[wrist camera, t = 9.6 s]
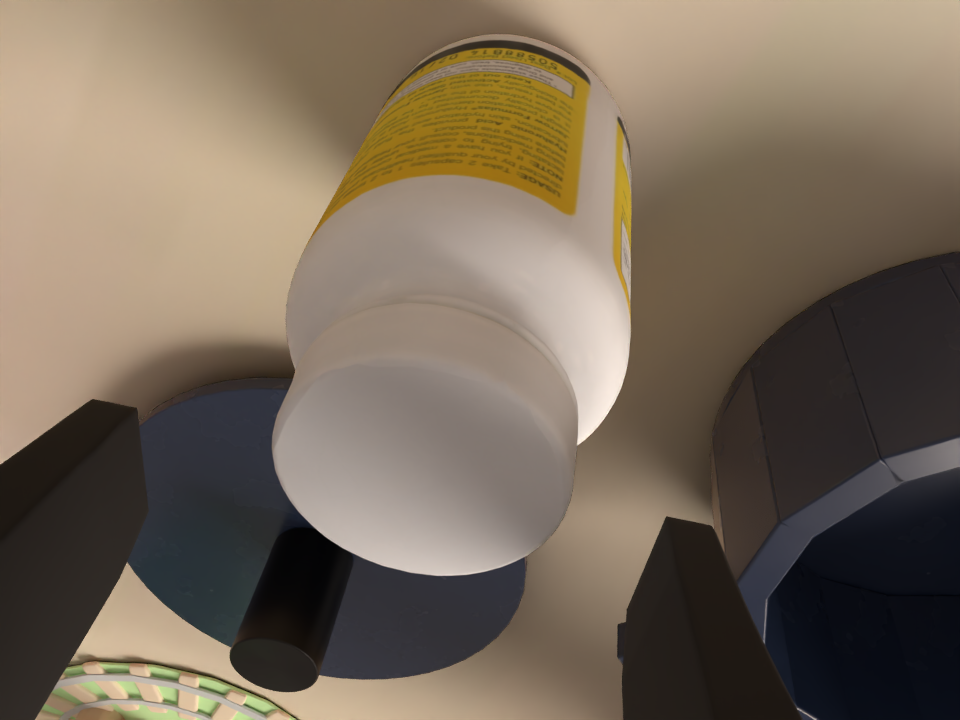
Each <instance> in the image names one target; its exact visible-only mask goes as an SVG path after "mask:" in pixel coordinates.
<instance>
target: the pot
mask: <svg viewBox="0 0 960 720" xmlns="http://www.w3.org/2000/svg"><path fill="white" fill-rule="evenodd" d="M710 462H711V501H712V511H713V520H714V530H715V532H716V533H717V536H718V538H719V541H720V543H721V546H722V548H723V551H724V553H725V556H726V558H727V561H728V563H729V565H730V568H731V570H732V573H733V575H734V577H735V580H736V582H737V584H738V587H739V589H740V591H741V594H742V596H743V598H744V600H745V603H746V605H747V607H748V609H749V612H750V614H751V616H752V618H753V621H754V623H755V625H756V627H757V629H758V631H759V633H760V636H761V638H762V640H763V642H764V644H765V646H766V648H767V650H768V652H769V654H770V656H771V658H772V660H773V662H774V664H775V666H776V668H777V670H778V672H779V674H780V676H781V678H782V680H783V682H784V684H785V686H786V688H787V690H788V692H789V694H790V696H791V698H792V700H793V702H794V704H795V706H796V707H797V709H798V711H799V713H800V715H801V717H802V719H803V720H960V252H956V253H950V254H945V255H940V256H936V257H931V258H926V259H922V260H917V261H913V262H910V263H907V264H903V265H900V266H897V267H894V268H891V269H888V270H884V271H881V272H878V273H876V274H874V275H871V276H869V277H867V278H864V279H862V280H860V281H857V282H855V283H853V284H850V285H848V286H846V287H843V288H842V289H840V290H838V291H836V292H834V293H833V294H831V295H829V296H827V297H825V298H824V299H822V300H820V301H818V302H816V303H815V304H813V305H812V306H810V307H809V308H807V309H806V310H804V311H803V312H802V313H800V314H799V315H797V316H796V317H794V318H793V319H792V320H790V321H789V322H787V323H786V324H785V325H784V326H783V327H782V328H780V329H779V330H778V331H777V332H776V333H775V334H774V335H773V336H771V337H770V338H769V339H768V340H767V341H766V342H765V343H764V344H763V345H762V346H761V347H760V348H759V349H758V350H757V351H756V353H755V354H754V355H753V356H752V357H751V358H750V359H749V361H748V362H747V363H746V364H745V365H744V366H743V368H742V369H741V371H740V372H739V374H738V376H737V377H736V379H735V380H734V382H733V383H732V385H731V386H730V388H729V389H728V392H727V394H726V396H725V398H724V400H723V402H722V404H721V407H720V409H719V411H718V414H717V418H716V421H715V425H714V429H713V432H712V440H711V450H710ZM625 628H626V622H624V623H620V624H618V641H617V657H618V659H619V660H620V662H621V663H622V664H623V656H624V641H625Z"/></svg>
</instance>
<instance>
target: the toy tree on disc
mask: <svg viewBox="0 0 960 720" xmlns="http://www.w3.org/2000/svg"><path fill="white" fill-rule="evenodd" d="M35 720H296V719H295V718H293V717H292V716H290V715H289V714H287V713H286V712H284V711H283V710H281V709H280V708H278V707H277V706H275V705H274V704H272V703H271V702H269V701H268V700H265V699H263V698H260V697H258V696H256V695H253V694H251V693H248V692H246V691H244V690H241V689H239V688H236V687H234V686H232V685H229V684H227V683H224V682H222V681H220V680H217V679H215V678H211V677H207V676H202V675H198V674H194V673H189V672H185V671H180V670H176V669H172V668H167V667H163V666H159V665H151V664H138V663H111V662H97V661H94V662H87V663H84V664H83V665H77V666H71V667H67V668H66V669H65V671H64V672H63V674H62V676H61V677H60V679H59V681H58V682H57V684H56V686H55V687H54V689H53V691H52V692H51V694H50V696H49V697H48V699H47V701H46V702H45V704H44V706H43V707H42V709H41V711H40V712H39V714H38V716H37V717H36V719H35Z"/></svg>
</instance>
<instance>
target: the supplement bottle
mask: <svg viewBox="0 0 960 720" xmlns="http://www.w3.org/2000/svg"><path fill="white" fill-rule="evenodd" d="M631 188H632V181H631V156H630V145H629V139H628V134H627V130H626V126H625V122H624V120H623V117H622V115H621V112H620V110H619V108H618V106H617V104H616V102H615V100H614V98H613V97H612V95H611V94H610V92H609V91H608V89H607V88H606V86H605V85H604V84H603V83H602V82H601V80H600V79H599V78H598V77H597V76H596V75H595V74H594V73H593V72H592V71H591V70H590V69H589V68H588V67H587V66H586V65H584V64H583V63H582V62H580V61H579V60H578V59H576V58H575V57H573V56H572V55H570V54H569V53H567V52H565V51H563V50H561V49H559V48H558V47H555V46H553V45H551V44H548V43H546V42H543V41H540V40H537V39H533V38H529V37H525V36H519V35H511V34H490V35H481V36H476V37H471V38H467V39H463V40H460V41H457V42H454V43H452V44H449V45H447V46H445V47H443V48H441V49H439V50H437V51H435V52H434V53H432V54H431V55H429V56H427V57H426V58H424V59H423V60H422V61H421V62H420V63H418V64H417V65H416V66H415V67H414V68H413V69H412V70H411V71H410V72H409V73H408V74H407V75H406V76H405V78H404V79H403V80H402V81H401V82H400V84H399V85H398V86H397V88H396V89H395V90H394V91H393V93H392V94H391V95H390V97H389V98H388V100H387V101H386V103H385V105H384V106H383V108H382V110H381V111H380V113H379V115H378V117H377V119H376V121H375V122H374V124H373V126H372V128H371V130H370V132H369V133H368V135H367V137H366V139H365V141H364V142H363V144H362V146H361V148H360V150H359V152H358V153H357V155H356V157H355V159H354V160H353V162H352V164H351V166H350V168H349V170H348V171H347V173H346V175H345V177H344V179H343V180H342V182H341V184H340V186H339V188H338V189H337V191H336V193H335V195H334V197H333V198H332V200H331V202H330V204H329V206H328V207H327V209H326V211H325V213H324V214H323V216H322V218H321V220H320V222H319V223H318V225H317V227H316V229H315V231H314V232H313V234H312V236H311V238H310V239H309V241H308V243H307V245H306V247H305V249H304V251H303V253H302V256H301V258H300V260H299V262H298V265H297V267H296V269H295V272H294V275H293V278H292V281H291V285H290V289H289V292H288V298H287V304H286V333H287V341H288V346H289V351H290V355H291V359H292V362H293V365H294V368H295V374H294V378H293V381H292V383H291V386H290V388H289V390H288V392H287V394H286V397H285V399H284V401H283V403H282V405H281V407H280V410H279V412H278V414H277V418H276V421H275V425H274V430H273V435H272V454H273V461H274V466H275V471H276V474H277V476H278V479H279V481H280V484H281V486H282V488H283V490H284V491H285V493H286V495H287V496H288V498H289V500H290V501H291V503H292V504H293V505H294V506H295V508H296V509H297V510H298V512H299V513H300V514H301V515H302V516H303V517H304V518H305V519H306V520H307V521H308V522H309V523H310V524H311V525H312V526H313V527H314V528H315V529H317V530H318V531H319V532H320V533H321V534H323V535H324V536H325V537H326V538H328V539H329V540H331V541H332V542H334V543H335V544H337V545H339V546H340V547H342V548H343V549H345V550H347V551H349V552H351V553H354V554H356V555H358V556H360V557H362V558H364V559H366V560H369V561H371V562H374V563H377V564H379V565H382V566H385V567H390V568H394V569H398V570H402V571H406V572H410V573H418V574H426V575H435V576H454V575H468V574H474V573H480V572H486V571H489V570H493V569H496V568H500V567H503V566H505V565H508V564H510V563H513V562H515V561H517V560H519V559H521V558H523V557H525V556H527V555H529V554H530V553H532V552H533V551H535V550H536V549H537V548H539V547H540V546H541V545H542V544H543V543H545V542H546V541H547V540H548V538H549V537H550V536H551V535H552V534H553V533H554V532H555V530H556V529H557V527H558V526H559V524H560V523H561V521H562V519H563V518H564V516H565V513H566V511H567V508H568V506H569V503H570V500H571V496H572V491H573V482H574V472H575V462H576V453H577V445H579V444H580V443H581V442H583V441H584V440H585V439H586V438H587V437H588V436H589V435H591V434H592V433H593V432H594V431H595V429H596V428H597V427H598V426H599V425H600V424H601V422H602V421H603V420H604V419H605V417H606V416H607V414H608V412H609V411H610V409H611V408H612V406H613V404H614V403H615V401H616V399H617V397H618V394H619V392H620V390H621V387H622V384H623V381H624V377H625V374H626V370H627V364H628V359H629V346H630V338H631V312H630V301H631Z"/></svg>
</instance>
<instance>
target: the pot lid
mask: <svg viewBox="0 0 960 720" xmlns="http://www.w3.org/2000/svg"><path fill="white" fill-rule="evenodd" d="M292 381H293V379H291V378H247V379H237V380H227V381H223V382H218V383H214V384H209V385H205V386H201V387H198V388H196V389H193V390H190V391H188V392H185V393H182V394H179V395H177V396H175V397H174V398H172V399H170V400H168V401H166V402H165V403H163V404H161V405H159V406H157V407H156V408H155V409H154V410H152V411H151V412H150V413H149V414H147V415H146V416H145V417H144V418H143V419H141V420H140V421H139V429H140V438H141V447H142V456H143V465H144V473H145V482H146V491H147V500H148V509H149V512H148V514H147V517H146V519H145V521H144V524H143V526H142V528H141V531H140V533H139V535H138V538H137V540H136V543H135V545H134V547H133V549H132V552H131V554H130V556H129V558H128V560H127V562H128V563H129V565H130V567H131V568H132V570H133V571H134V572H135V574H136V575H137V576H138V577H139V578H140V580H141V581H142V582H143V583H144V584H145V586H146V587H147V588H148V589H149V590H150V591H151V592H152V593H153V594H154V595H155V596H156V597H157V598H158V599H159V600H160V601H161V602H162V603H163V604H165V605H166V606H167V607H168V608H170V609H171V610H172V611H173V612H175V613H176V614H177V615H178V616H180V617H181V618H182V619H184V620H185V621H187V622H188V623H190V624H191V625H193V626H194V627H196V628H197V629H198V630H200V631H201V632H203V633H205V634H207V635H209V636H210V637H212V638H214V639H216V640H218V641H219V642H221V643H223V644H225V645H227V646H229V647H231V650H230V661H231V664H232V666H233V667H234V669H235V670H236V671H237V672H238V673H239V674H240V675H241V676H242V677H243V678H245V679H246V680H248V681H249V682H251V683H253V684H255V685H257V686H260V687H262V688H265V689H269V690H273V691H279V692H297V691H302V690H305V689H307V688H309V687H311V686H312V685H313V684H314V683H315V682H316V681H317V679H318V676H319V675H322V676H329V677H335V678H347V679H392V678H403V677H410V676H415V675H420V674H425V673H430V672H433V671H436V670H440V669H443V668H446V667H449V666H451V665H454V664H456V663H458V662H461V661H463V660H465V659H467V658H469V657H470V656H472V655H474V654H475V653H477V652H479V651H480V650H482V649H483V648H485V647H486V646H487V645H488V644H490V643H491V642H492V641H493V640H494V639H496V638H497V637H498V636H499V634H500V633H501V632H502V631H503V630H504V629H505V627H506V626H507V625H508V624H509V622H510V621H511V619H512V617H513V616H514V614H515V612H516V610H517V609H518V606H519V603H520V601H521V598H522V595H523V592H524V585H525V577H526V568H527V556H525V557H523V558H521V559H519V560H517V561H515V562H513V563H510V564H508V565H505V566H503V567H500V568H496V569H493V570H489V571H486V572H480V573H474V574H468V575H454V576H435V575H426V574H418V573H410V572H406V571H402V570H398V569H394V568H390V567H385V566H382V565H379V564H377V563H374V562H371V561H369V560H366V559H364V558H362V557H360V556H358V555H356V554H354V553H351V552H349V551H347V550H345V549H343V548H342V547H340V546H339V545H337V544H335V543H334V542H332V541H331V540H329V539H328V538H326V537H325V536H324V535H323V534H321V533H320V532H319V531H318V530H317V529H315V528H314V527H313V526H312V525H311V524H310V523H309V522H308V521H307V520H306V519H305V518H304V517H303V516H302V515H301V514H300V513H299V512H298V510H297V509H296V508H295V506H294V505H293V504H292V503H291V501H290V500H289V498H288V496H287V495H286V493H285V491H284V490H283V488H282V486H281V484H280V481H279V479H278V476H277V474H276V471H275V466H274V461H273V454H272V435H273V430H274V425H275V421H276V418H277V414H278V412H279V410H280V407H281V405H282V403H283V401H284V399H285V397H286V394H287V392H288V390H289V388H290V386H291V383H292Z"/></svg>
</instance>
